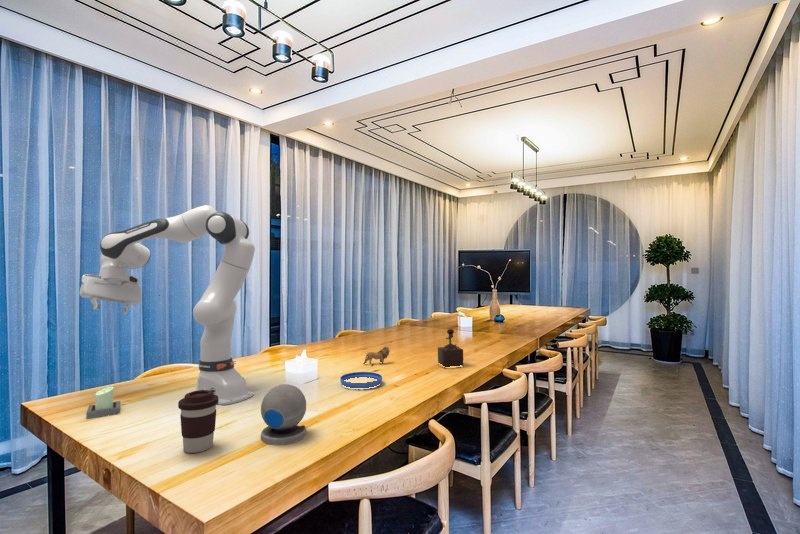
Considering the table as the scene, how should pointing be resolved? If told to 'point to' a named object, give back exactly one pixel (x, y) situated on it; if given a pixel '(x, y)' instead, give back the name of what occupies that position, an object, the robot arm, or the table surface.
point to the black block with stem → (450, 353)
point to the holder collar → (103, 411)
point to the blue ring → (361, 374)
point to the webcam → (283, 415)
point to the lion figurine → (377, 355)
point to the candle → (104, 399)
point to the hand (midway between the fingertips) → (110, 311)
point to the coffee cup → (198, 420)
